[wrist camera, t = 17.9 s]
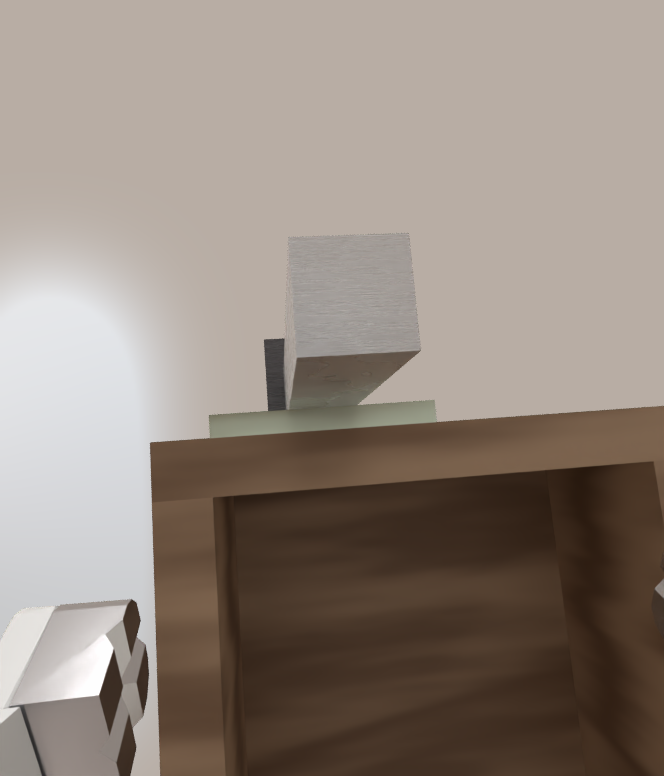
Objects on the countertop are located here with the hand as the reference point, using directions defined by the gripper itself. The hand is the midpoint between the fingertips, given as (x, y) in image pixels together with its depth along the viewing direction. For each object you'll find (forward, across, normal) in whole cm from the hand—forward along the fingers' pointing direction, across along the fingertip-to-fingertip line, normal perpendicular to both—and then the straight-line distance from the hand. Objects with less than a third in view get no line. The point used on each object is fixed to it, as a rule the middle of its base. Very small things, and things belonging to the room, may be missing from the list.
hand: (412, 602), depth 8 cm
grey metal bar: (+12, 0, +2) cm, 12 cm away
